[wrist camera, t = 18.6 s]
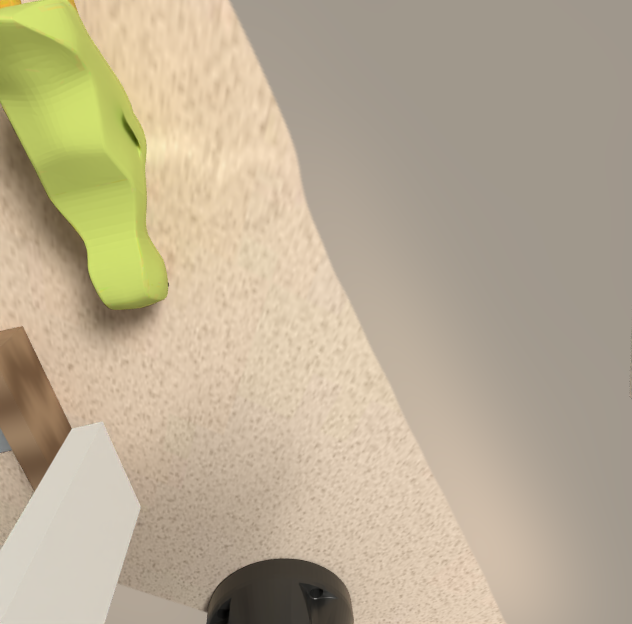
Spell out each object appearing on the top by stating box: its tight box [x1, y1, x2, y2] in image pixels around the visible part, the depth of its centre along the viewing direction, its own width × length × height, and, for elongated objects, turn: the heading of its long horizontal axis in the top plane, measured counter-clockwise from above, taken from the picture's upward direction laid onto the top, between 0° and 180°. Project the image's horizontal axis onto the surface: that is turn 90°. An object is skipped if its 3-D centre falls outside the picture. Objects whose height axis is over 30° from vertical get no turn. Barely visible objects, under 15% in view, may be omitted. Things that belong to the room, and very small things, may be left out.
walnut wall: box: [0, 326, 72, 491], centre depth 43 cm, size 20×2×5 cm, turn 12°
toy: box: [0, 0, 169, 310], centre depth 32 cm, size 6×17×20 cm
